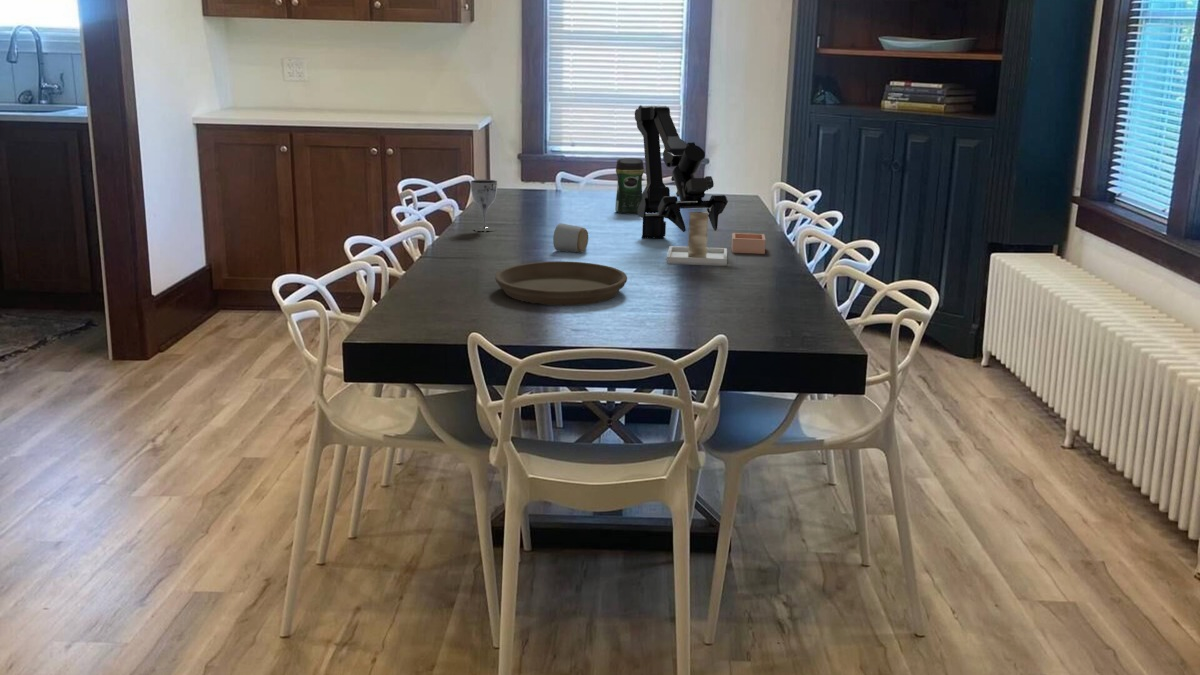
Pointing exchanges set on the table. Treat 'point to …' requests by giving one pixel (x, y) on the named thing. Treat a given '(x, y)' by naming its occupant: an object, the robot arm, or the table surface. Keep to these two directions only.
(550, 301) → the plant saucer
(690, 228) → the beech cylinder
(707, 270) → the table surface
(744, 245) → the cup holder
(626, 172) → the coffee jar
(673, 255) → the grey tray
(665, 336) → the table surface
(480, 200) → the wine glass
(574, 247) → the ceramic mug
